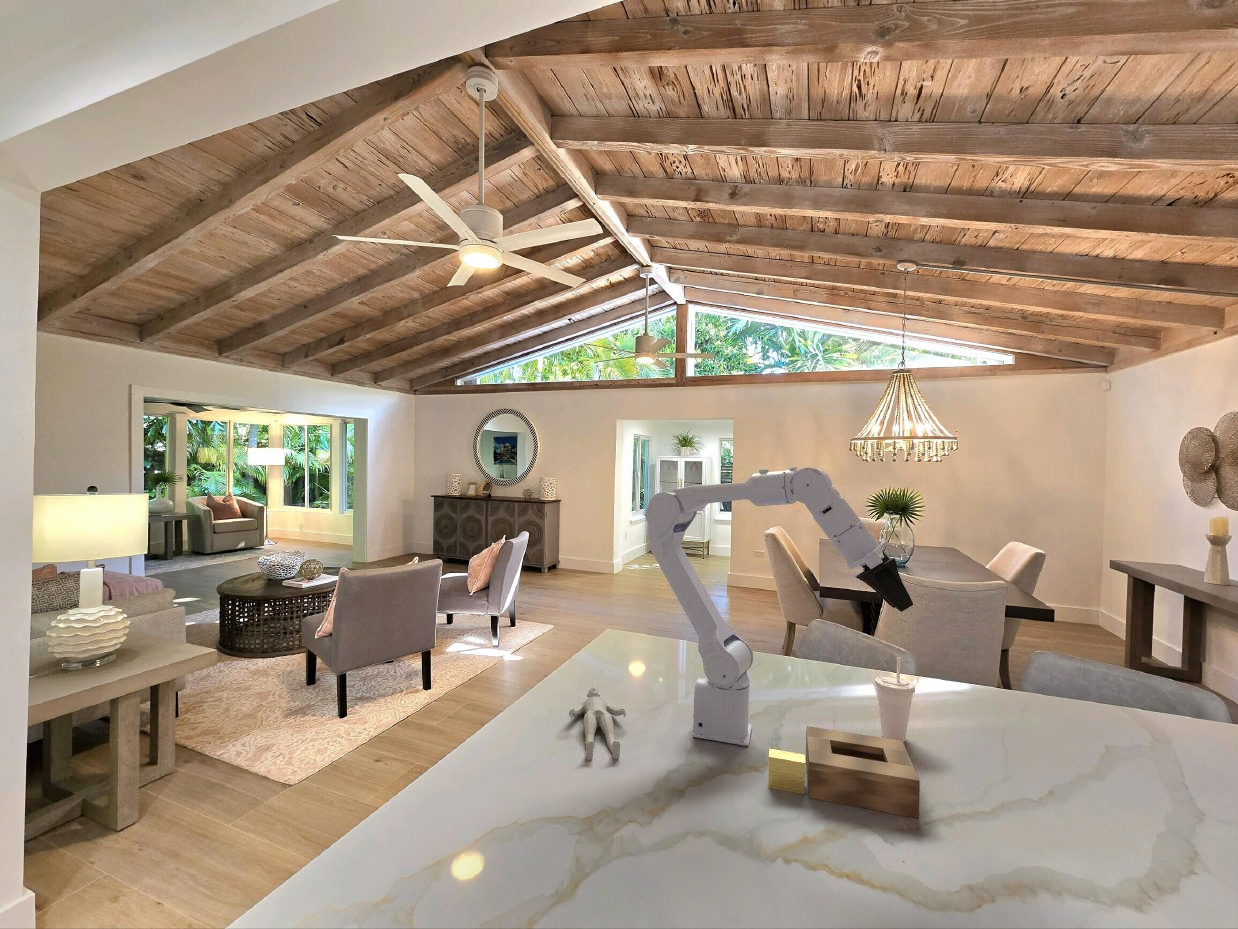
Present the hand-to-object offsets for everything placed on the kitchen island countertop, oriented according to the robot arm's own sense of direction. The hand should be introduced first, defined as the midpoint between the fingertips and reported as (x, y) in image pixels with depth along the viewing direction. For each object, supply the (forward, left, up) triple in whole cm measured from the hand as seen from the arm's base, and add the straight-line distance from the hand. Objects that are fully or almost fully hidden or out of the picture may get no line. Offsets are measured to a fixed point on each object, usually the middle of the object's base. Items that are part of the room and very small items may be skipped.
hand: (902, 606), depth 85 cm
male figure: (-48, 0, -26) cm, 55 cm away
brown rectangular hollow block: (-6, -4, -26) cm, 27 cm away
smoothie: (+2, +15, -26) cm, 30 cm away
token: (-16, -8, -26) cm, 32 cm away
